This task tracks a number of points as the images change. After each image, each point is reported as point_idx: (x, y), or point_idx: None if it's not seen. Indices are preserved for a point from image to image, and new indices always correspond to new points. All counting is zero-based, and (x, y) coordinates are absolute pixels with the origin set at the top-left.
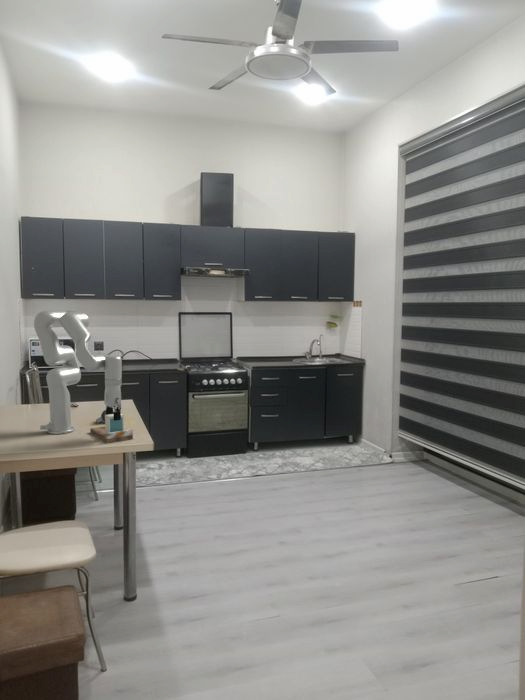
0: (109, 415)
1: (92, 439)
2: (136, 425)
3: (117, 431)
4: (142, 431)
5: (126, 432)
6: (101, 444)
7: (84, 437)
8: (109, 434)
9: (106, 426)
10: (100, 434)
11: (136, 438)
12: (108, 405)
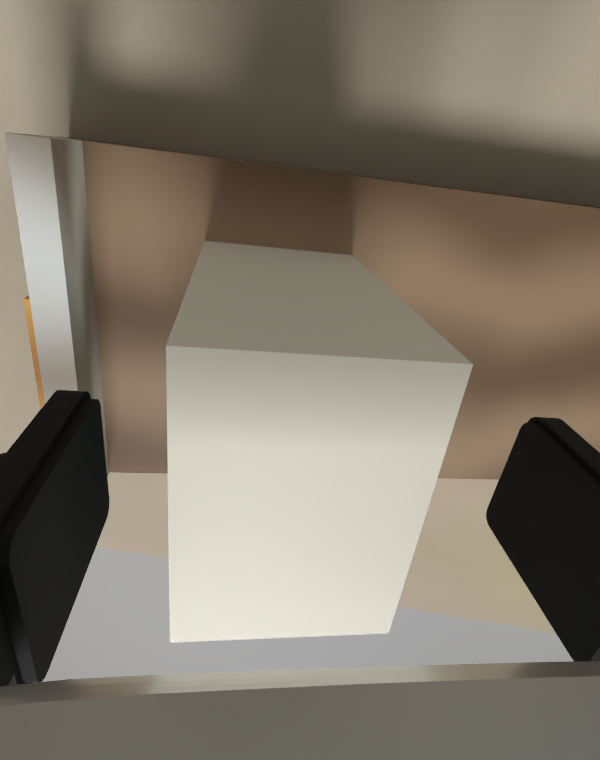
0: (330, 426)
1: (399, 69)
2: (516, 609)
3: (68, 334)
4: None
5: None
6: (48, 27)
7: (575, 30)
8: (21, 176)
9: (326, 279)
10: (367, 182)
11: (107, 477)
12: (290, 751)
